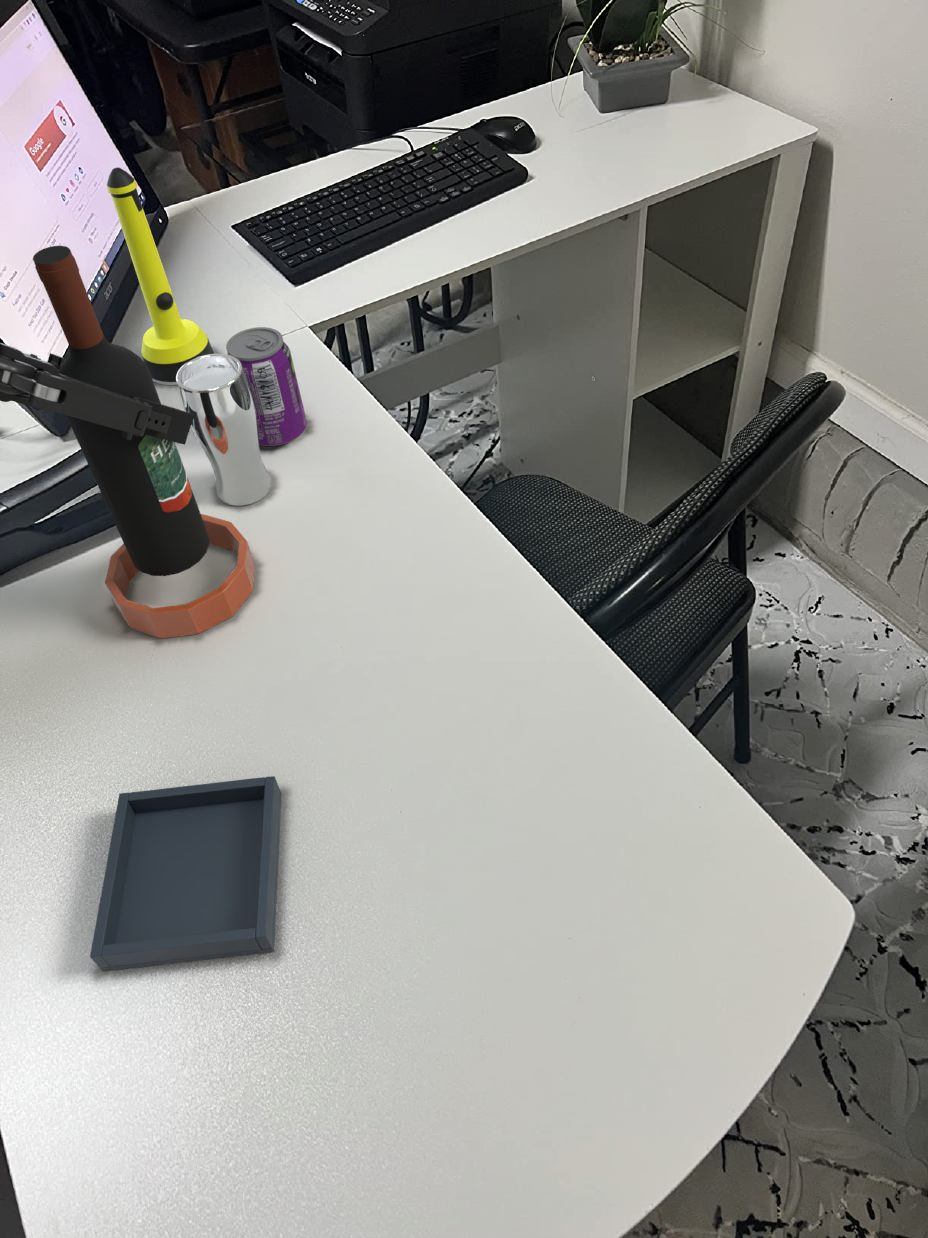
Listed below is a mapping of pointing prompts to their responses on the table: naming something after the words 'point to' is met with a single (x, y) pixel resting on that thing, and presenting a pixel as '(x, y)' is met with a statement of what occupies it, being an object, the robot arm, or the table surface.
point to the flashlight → (155, 290)
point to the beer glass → (225, 426)
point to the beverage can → (270, 384)
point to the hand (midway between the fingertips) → (153, 414)
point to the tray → (190, 875)
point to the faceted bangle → (197, 612)
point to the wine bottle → (124, 469)
